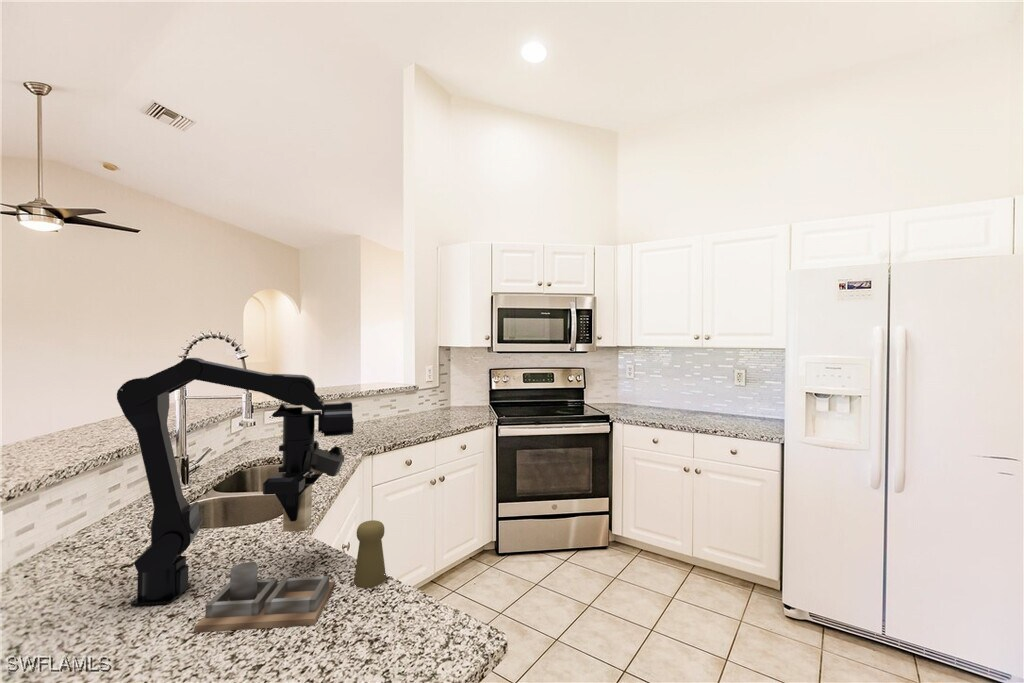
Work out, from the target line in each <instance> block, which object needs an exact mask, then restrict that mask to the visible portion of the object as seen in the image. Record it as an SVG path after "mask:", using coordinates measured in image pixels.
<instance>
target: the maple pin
mask: <svg viewBox="0 0 1024 683" xmlns="http://www.w3.org/2000/svg"><path fill="white" fill-rule="evenodd" d="M305 485H309V487H308V488H307V489H306V490H305V491H304V492H303V493H302V494H301V500H300V506H299V512H298V517H297V520H296V521H290V519H289V518H288V516H287V514H286V512H285V510H284V508H283V507H282V509H283V511H282V512H283V518H282V519H283V520H282V532H283V533H286V532H287V533H288V532H289V533H290V532H306V530H307V529H308V528H309V527H310V526H311V524H312V508H313V507H312V506H313V504H312V497H313V496H312V495H313V494H312V492H313V490H312V489H313V484H305Z"/></svg>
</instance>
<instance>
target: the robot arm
mask: <svg viewBox="0 0 1024 683" xmlns="http://www.w3.org/2000/svg"><path fill="white" fill-rule="evenodd" d="M193 381H200V382H206V383H211V384H216V385H220V386H227V387H232V388H237V389H242V390H248V391H252V392H257V393H262V394H264V395H267V396H269V397H272V398H274V399H276V400H279V401H280V402H281V401H282V402H284V403H286V404H290V405H292V406H293V407H291V406H290V407H289V406H286V404H284V403H281V404H280V406H279V408H278V409H276V410H275V411H274V412H273V413H272V414H271V416H272V418H283V419H282V420H283V421H282V444H280V445H278V451H279V452H282V464H281V465H280V466H278V472H277V473H274V474H273V475H272V476H269V477H268V478H267V479H266V480H265V481H264V482H263V483H262V495H264V496H265V495H275V496H276V498H277V499H278V501H279V503H280V504H281V506H282V509H283V508H284V510H285V512H286V514H287V516H288V518H289V519H290V521H296V520H297V517H298V512H299V506H300V500H301V494H302V493H303V492H304V491H305V490H306V489H307V488H308V487H309V485H305V484H312V485H313V484H314V483H315V482H316V481H317V480H319V478H320V477H321V476H322V474H321V473H323V474H326V475H327V476H329V477H335V476H336V475H337V474H338V473H340V471H341V469H342V465H343V463H344V462H345V455H344V454H343V449H342V447H340V446H337V445H334V446H333V447H332V448H331V449H330V450H328V449H323V448H322V449H321V448H320V447H319V446H320V443H319V442H318V440H315V422H316V421H315V419H316V417H315V416H318V418H317V419H318V420H317V421H318V422H317V427H318V428H317V432H318V433H320V432H321V433H320V434H323V437H338V436H339V437H341V436H353V435H354V420H355V418H354V417H353V403H352V402H351V401H344V402H339V403H338V402H336V403H325V402H324V401H323V398H320V396H319V395H318V394H317V392H316V384H315V381H313V379H312V378H311V377H309V376H307V375H304V374H293V373H292V374H291V373H267V372H262V371H256V370H251V369H248V368H247V369H246V368H243V367H237V366H234V365H233V366H232V365H227V364H222V363H218V362H213V361H210V360H209V361H208V360H204V359H203V358H201V357H188V358H185V359H182V360H181V361H180V362H178V363H177V364H174V365H172V366H170V367H168V368H166V369H165V368H164V369H163V370H161V371H159V372H156V373H154V374H152V375H149V376H146V377H145V376H144V377H139V378H133V379H129V380H127V381H126V382H124V383H122V385H121V386H120V387H119V388H118V389H117V392H116V400H117V403H118V405H119V407H120V409H121V411H122V413H123V415H124V418H126V421H128V423H130V425H131V426H132V427H133V429H134V430H135V432H136V434H137V440H138V444H139V448H140V452H141V457H142V462H143V465H144V469H145V474H146V479H147V482H148V486H149V491H150V497H151V500H152V505H153V513H152V520H151V526H150V544H149V545H148V546H147V548H146V549H145V550H144V551H143V552H142V553H140V555H139V556H138V557H137V559H135V561H134V562H133V564H134V565H133V566H135V569H136V571H137V589H136V590H137V591H136V597H135V599H132V600H131V601H130V603H129V604H130V606H132V607H135V606H149V605H150V606H153V605H167V604H168V605H169V604H171V603H172V602H174V601H175V600H176V599H177V598H178V597H179V596H181V595H182V594H183V593H185V591H186V590H188V589H189V588H190V587H191V582H189V564H187V555H182V554H183V553H184V552H185V551H186V550H187V549H188V548H189V547H190V546H191V543H193V541H194V539H195V538H196V536H197V535H198V533H199V531H200V526H201V524H202V523H203V521H204V519H203V518H202V517H201V515H200V508H199V507H200V506H199V505H200V504H199V502H198V501H194V502H193V503H191V504H190V503H189V501H188V500H187V499H186V498H185V496H184V493H183V489H182V485H181V481H180V476H179V472H178V467H177V463H176V458H175V454H174V450H173V449H174V448H173V445H172V442H171V441H172V440H171V436H170V433H169V432H170V431H169V428H168V418H169V410H170V394H172V393H174V392H175V391H177V390H180V389H181V388H182V387H184V386H186V385H188V384H190V383H192V382H193ZM294 406H295V407H294ZM303 406H305V407H306V408H308V409H309V410H305V411H303V410H304V409H303V408H304V407H303ZM315 471H317V472H321V473H315Z"/></svg>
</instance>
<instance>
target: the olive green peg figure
mask: <svg viewBox="0 0 1024 683" xmlns="http://www.w3.org/2000/svg"><path fill="white" fill-rule="evenodd" d="M384 536H385V525H384V523H382V521H381V520H367V521H364V522H361V523H360V524H359V525H358V527H357V528H356V539H357V540H358V541H359V542H358V543H359V544H358V551H357V557H356V564H355V571H354V577H353V584H355V585H356V586H355V585H354V586H355V587H357V588H360V589H369V588H374V587H378V586H380V585H382V584H384V582H385V581H386V580H387V574H386V564H385V556H384V549H383V541H382V539H383V538H384ZM382 573H383V574H382ZM384 574H385V575H384Z"/></svg>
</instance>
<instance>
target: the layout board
mask: <svg viewBox="0 0 1024 683" xmlns="http://www.w3.org/2000/svg"><path fill="white" fill-rule="evenodd" d="M229 574H230V576H229V577H230V578H229V581H228V583H227V584H225V586H224V587H223V588H221V590H219V591H218V592H217V594H216V595H214V596H213V598H211V600H210V601H209V602H208V603H207V604H205V611H204V612H205V613H204V616H203V617H202V618H201V619H200V620H199V621H198V622H197V623H196V624H195V625H194V633H207V632H221V631H222V632H223V631H224V632H225V631H239V630H253V629H256V630H257V629H269V628H286V627H288V628H289V627H302V626H303V627H304V626H315V625H316V623H317V621H318V620H319V618H320V616H321V614H322V612H323V610H324V608H325V606H326V605H327V602H328V601H329V599H330V597H331V596H332V593H333V592H332V591H334V590H333V589H335V588H336V581H330V575H324V576H322V575H321V576H304V577H301V576H299V577H284V578H282V580H281V581H280V582H279V583H278V578H265V579H264V578H263V579H262V578H261V579H259V578H258V563H257V562H252V561H250V562H249V561H247V562H243V563H239V564H236V565H234V566H232V568H230V573H229ZM334 587H335V588H334Z"/></svg>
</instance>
